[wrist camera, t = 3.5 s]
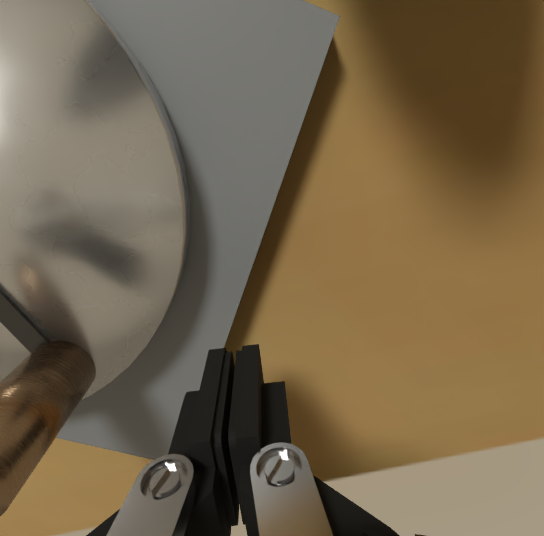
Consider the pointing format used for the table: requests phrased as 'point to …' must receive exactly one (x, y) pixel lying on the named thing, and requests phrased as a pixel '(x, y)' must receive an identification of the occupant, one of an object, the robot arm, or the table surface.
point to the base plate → (209, 183)
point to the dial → (77, 219)
